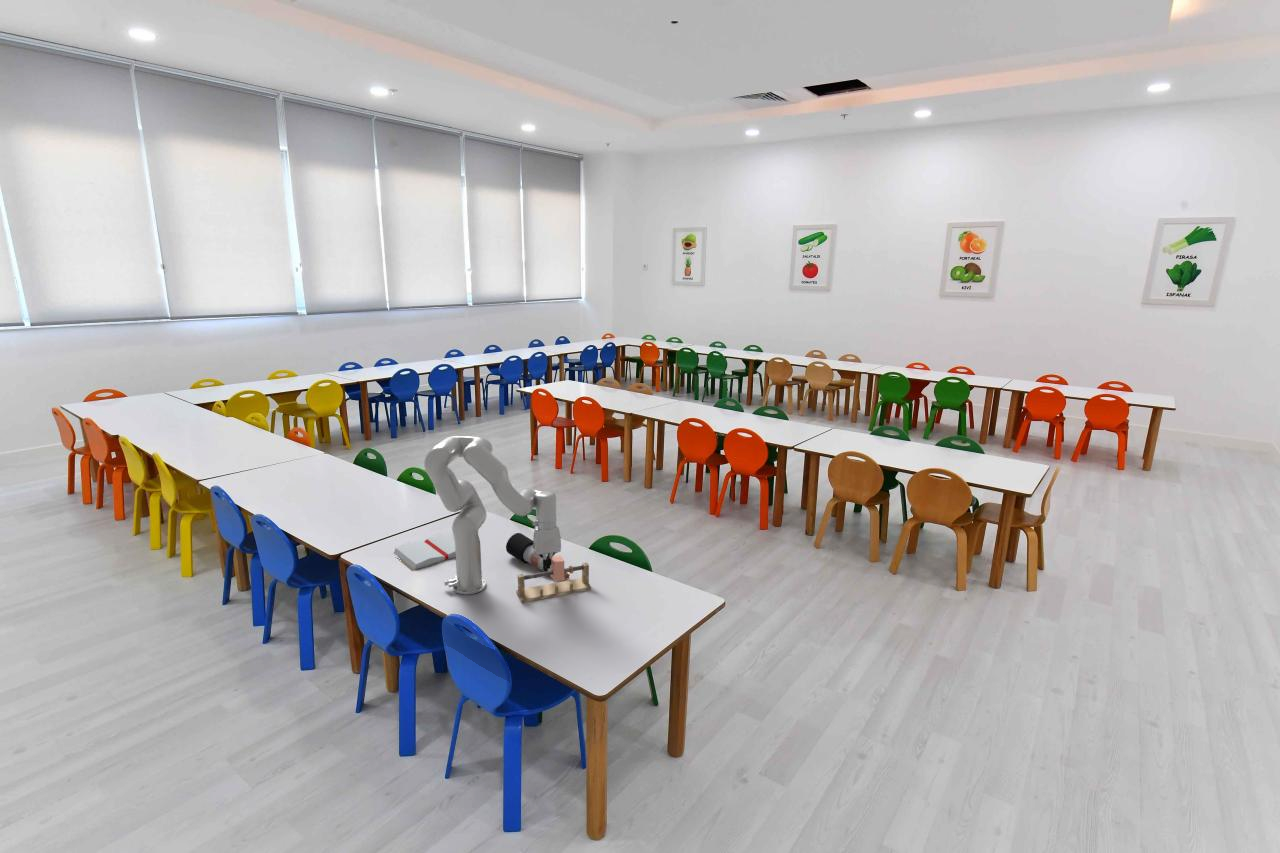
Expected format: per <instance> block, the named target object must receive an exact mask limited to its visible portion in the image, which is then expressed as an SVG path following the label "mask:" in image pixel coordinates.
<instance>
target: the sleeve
mask: <svg viewBox="0 0 1280 853" xmlns="http://www.w3.org/2000/svg"><path fill="white" fill-rule="evenodd" d="M564 569H565V560H564V559H563V556H561V555H557V556H553V558H552V559H551V571H553V575H550V577H551V579H552V580H553V581H554V582H553V583H556V582H561V581H565V578H564Z"/></svg>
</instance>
